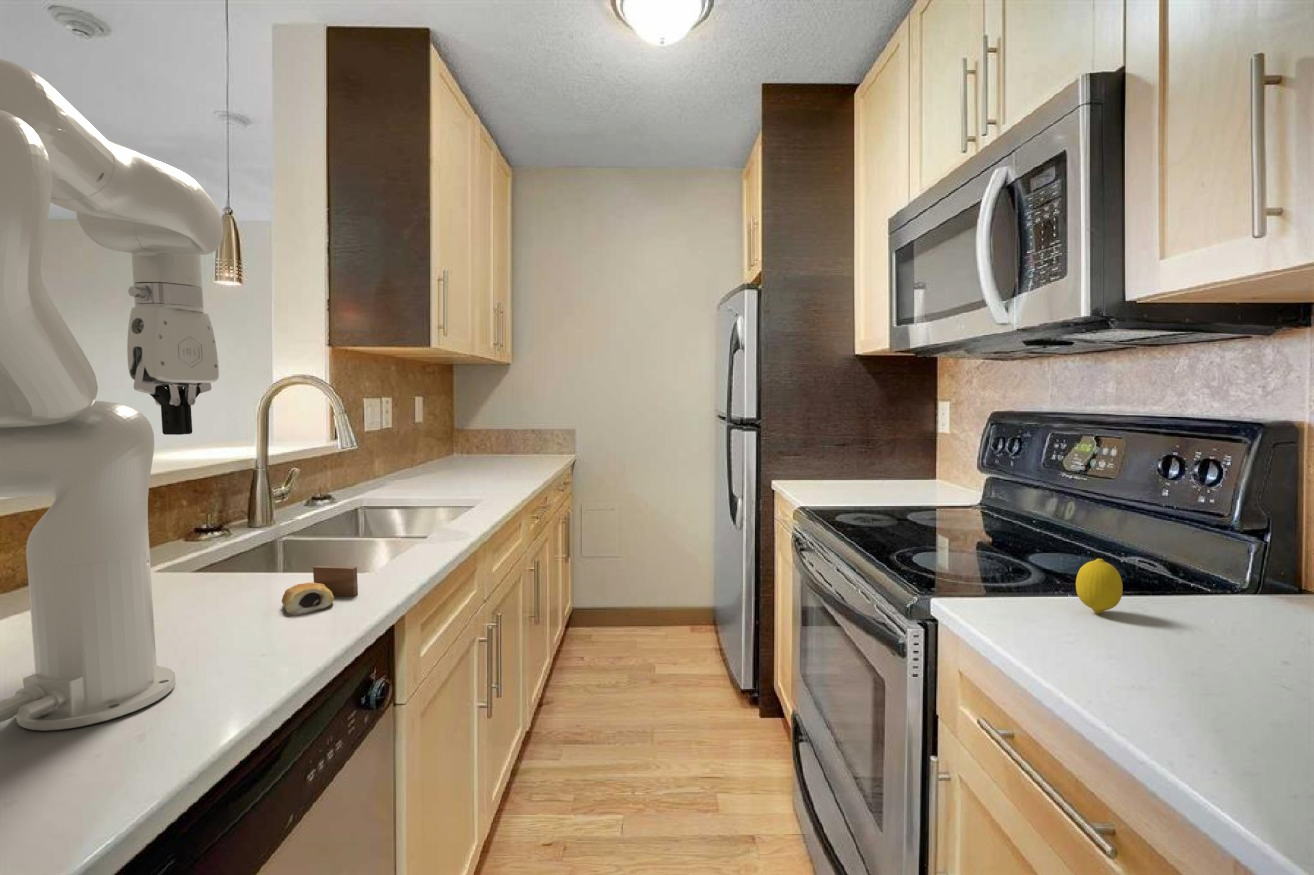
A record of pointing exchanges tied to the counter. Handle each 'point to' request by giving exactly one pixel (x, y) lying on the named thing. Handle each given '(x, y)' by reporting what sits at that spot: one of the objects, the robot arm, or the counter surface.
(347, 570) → the walnut block
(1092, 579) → the lemon
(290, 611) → the pastry
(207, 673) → the counter surface
